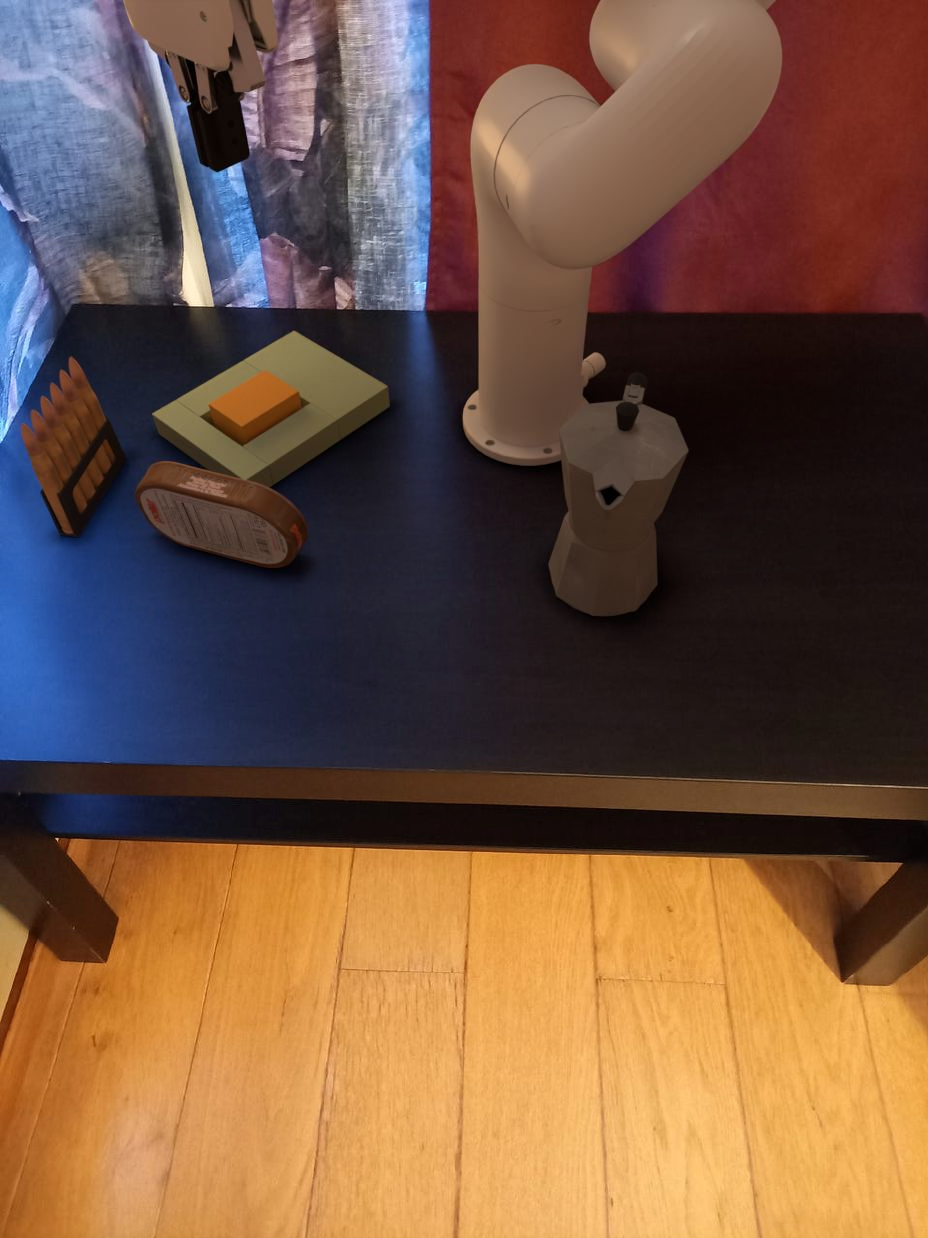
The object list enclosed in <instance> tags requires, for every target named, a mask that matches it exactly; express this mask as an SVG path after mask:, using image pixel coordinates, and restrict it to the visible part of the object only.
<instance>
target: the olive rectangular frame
mask: <svg viewBox="0 0 928 1238" xmlns="http://www.w3.org/2000/svg"><path fill="white" fill-rule="evenodd" d="M265 370H266V371H268V372H269V373H271V374H272V375H274V376H276V377H277V378H279V379H280V380H282V381H284V382H285V383H287V384H288V385H290V386H291V387H293V388H295V389H296V390H298V391H299V394H300V400H301V405H302V409H300V410H299V411H297V412H296V413H294V414H293V415H291V416H289V417H288V418H286V419H285V420H283V421H282V422H280V423H278V424H277V425H275V426H274V427H272V428H271V429H269V430H267V431H266V432H264V433H263V434H261V435H260V436H258V437H256V438H255V439H253V440H252V441H250V442H249V443H247V444H245V445H244V446H243V447H242V446H240V445H239V444H238V443H236V442H235V441H233V440H232V439H230V438H229V437H228V436H226V435H225V434H223V433H222V432H220V431H219V430H218V429H216V428H215V426H214V422H213V419H212V415H211V412H210V408H209V403H211V402H213V401H214V400H216V399H218V398H219V397H221V396H223V395H224V394H226V393H228V392H229V391H231V390H233V389H234V388H236V387H238V386H239V385H241V384H243V383H244V382H246V381H248V380H249V379H251V378H253V377H255V376H256V375H258V374H260V373H261V372H263V371H265ZM390 402H391V401H390V393H389V386H388V385H386V383H384V382H382V381H380V380H379V379H377V378H375V377H373V376H372V375H369V373H366V372H365V371H363V370H362V369H360V368H358V367H356V366H354V365H353V364H351V363H350V362H348V361H346V360H345V359H343V358H341V357H340V356H338V355H336V354H335V353H334V352H331V351H329V350H328V349H326V348H325V347H323V346H321V345H319V344H318V343H316V342H315V341H312V340H311V339H309V338H307V337H306V336H305V335H302V334H301V333H299V332H297V331H296V330H293V331H291V332H289V333H287V334H286V335H284V336H283V337H280V338H279V339H277V340H275V341H274V342H272V343H271V344H268V345H267V346H266V347H264V348H262V349H260V350H259V351H257V352H255V353H253V354H252V355H250V356H248V357H246V358H245V359H243V360H242V361H240V362H238V363H237V364H235V365H233V366H231V367H230V368H228V369H226V370H224V371H223V372H221V373H219V374H217V375H216V376H214V377H213V378H211V379H209V380H207V381H206V382H204V383H202V384H201V385H199V386H197V387H195V388H193V389H192V390H190V391H188V392H187V393H185V394H183V395H181V396H180V397H178V398H177V399H174V400H173V401H171V402H170V403H168V404H166V405H164V406H162V407H161V408H160V409H158V410H156V411H154V412H152V413H151V415H152V418H153V421H154V424H155V427H156V429H157V432H158V435H160V436H161V437H163V438H164V439H165V440H167V441H168V442H169V443H170V444H172V445H173V446H175V447H176V448H177V449H179V451H182V452H183V453H184V454H186V455H187V456H188V457H189V458H191V459H192V460H194V461H195V462H197V463H198V464H199V465H201V466H202V467H204V468H205V470H208V471H212V472H215V473H220V474H224V475H228V476H232V477H236V478H240V479H244V480H248V481H252V482H256V483H259V484H262V485H264V486H267V487H269V488H271V487H272V486H274V485H275V484H277V483H278V482H281V480H283V479H284V478H286V477H287V476H289V475H291V474H292V473H294V472H295V471H297V470H298V469H299V468H302V466H305V464H307V463H309V462H310V461H311V460H313V459H315V458H316V457H317V456H319V455H320V454H322V453H323V452H325V451H326V450H328V449H329V448H330V447H332V446H334V445H335V444H336V443H338V442H339V441H341V440H342V439H344V438H346V437H347V436H348V435H350V434H351V433H352V432H354V431H356V430H357V429H359V428H361V427H362V426H363V425H365V424H366V423H368V422H369V421H371V420H372V419H374V418H375V417H376V416H378V415H379V414H381V413H382V412H384V411H385V410H387V409H389V408H390V407H391V404H390Z"/></svg>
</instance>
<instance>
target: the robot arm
mask: <svg viewBox="0 0 928 1238" xmlns="http://www.w3.org/2000/svg"><path fill="white" fill-rule="evenodd" d="M122 1H123V5H124V8H125V11H126V14H127V15H126V16H127V18H128V20H129V23H130V25H131V27H132V29H133V30H134V32H135V33H136V34H137V35H138V36H139V37H140V38H142V39H143V40H145V41H147V44H148V46H149V48H150V49H151V50H152V51H153V52H154V53H155V54H156V55H157V56H159V58H161V59H162V60H164V61H165V63H166V65H168V67H169V69H170V70H171V73H172V76H173V80H174V83H175V86H176V90H177V92H178V93H177V94H178V95H179V97H180V99H181V100H182V102H183V103H185V104H188V105H186V111H187V114H188V119H189V124H190V127H191V133H192V137H193V141H194V144H195V149H196V153H197V157H198V162H199V164H200V165H202V166H203V167H206V168H209V169H210V170H211V171H213V172H215V173H220V172H223V171H225V170H226V169H229V168H231V167H233V166H235V165H237V164H239V163H242V162H244V161H246V160H248V159H249V158H250V155H251V149H250V144H249V140H248V135H247V129H246V124H245V118H244V114H243V108H242V103H241V101H243V100H245V95H246V93H248V94H249V93H251V92H253V91H255V90H258V89H260V88H262V87H264V86H265V85H266V77H265V74H264V70H263V66H262V63H261V60H260V58H259V57H260V56H259V54H258V52H260V53H264V54H269V53H272V52H274V51H276V50H277V48H278V45H279V34H278V27H277V20H276V13H275V8H274V3H273V0H122ZM776 1H777V0H599V2H598V4H597V6H596V8H595V11H594V12H593V15H592V18H591V22H590V26H589V37H588V39H589V49H590V52H591V56H592V60H593V62H594V64H595V66H596V68H597V69H598V71H599V73H600V75H601V77H602V78H603V79H604V80H605V82H606V83H607V84H608V85H609V87H611V89H612V90H613V91H614V93H612V94H611V96H610V97H608V98H607V99H606V100H605V102H603V104H602V105H600V103H599V102H598V101H597V100H596V99H595V98H594V96H592V94H591V93H590V92H589V91H588V90H587V89H586V88H585V87H584V86H583V85H582V84H581V83H580V82H579V81H578V80H577V79H576V78H574V77H573V76H571V75H570V74H568V73H566V72H564V71H563V70H561V69H559V68H557V67H555V66H551V65H547V64H540V63H533V64H532V63H531V64H524V65H520V66H516V67H514V68H512V69H510V70H509V71H507V72H505V73H503V74H502V75H501V76H499V77H498V78H496V80H495V81H494V82H493V83H492V84H491V85H490V86H489V88H487V90H486V92H485V93H484V94H483V96H482V98H481V100H480V102H479V104H478V107H477V109H476V111H475V114H474V118H473V121H472V126H471V131H470V133H471V134H470V142H469V143H470V147H469V149H470V150H469V151H470V167H471V168H470V169H471V177H472V186H473V196H474V203H475V212H476V213H475V214H476V222H477V223H476V224H477V243H478V244H477V245H478V278H477V279H478V281H477V282H478V284H477V285H478V291H477V292H478V389H477V390H475V391H474V392H473V393H472V394H471V396H469V398H468V399H467V401H466V403H465V405H464V407H463V412H462V426H463V428H462V429H463V431H464V434H465V436H466V438H467V440H468V441H469V443H470V445H472V446H473V447H474V448H475V449H476V450H477V451H479V452H481V453H482V454H483V455H484V456H487V457H489V458H491V459H493V460H495V461H498V462H502V463H505V464H509V465H516V466H523V467H524V466H526V467H528V466H529V467H530V466H531V467H535V466H543V465H548V464H549V465H550V464H553V463H557V462H559V461H562V460H561V449H560V439H559V429H560V428H561V427H562V426H563V425H564V424H565V423H566V422H567V421H568V420H569V419H570V418H571V417H572V416H574V415H575V414H576V413H577V412H578V411H579V410H580V409H581V408H582V407H583V406H584V405H585V404H590V403H589V401H587V398H585V396H584V395H583V393H584V388H586V387H587V386H588V383H589V380H590V379H593V378H594V377H595V376H597V375H599V374H600V373H601V372H602V371H603V370H604V369H605V368H606V364H607V363H606V360H605V358H604V356H603V355H602V354H601V353H599V352H593V353H591V354H590V355H588V356H586V358H584V349H585V340H586V330H587V329H586V328H587V319H588V318H587V317H588V310H589V300H590V291H591V290H590V289H591V284H592V274H593V267H595V266H598V265H600V264H602V263H604V262H606V261H608V260H610V259H611V258H613V257H615V256H617V255H619V253H621V252H622V251H624V250H625V249H626V248H628V247H629V246H631V245H632V244H633V243H634V242H635V241H637V240H638V239H639V238H641V236H642V235H644V234H645V233H646V232H647V231H648V230H650V228H652V227H653V226H654V225H655V224H657V222H658V221H659V220H661V219H662V218H664V216H665V215H666V214H668V212H670V211H671V210H672V209H673V208H674V207H676V205H677V204H679V203H680V202H681V201H682V200H683V199H684V198H685V197H687V195H689V194H690V193H691V192H692V191H693V190H694V189H695V188H696V187H697V186H699V185H700V184H701V183H702V182H703V181H704V180H706V179H707V178H708V177H709V176H710V175H711V174H712V173H713V172H714V171H716V170H717V169H718V168H719V167H721V165H722V164H724V162H726V161H727V160H728V159H729V158H730V157H731V156H732V155H733V154H734V153H735V152H736V151H737V150H738V149H739V148H740V147H741V146H742V145H743V144H744V143H745V142H746V141H747V139H748V138H749V137H750V136H751V135H752V133H753V132H754V131H755V129H756V128H757V127H758V126H759V124H760V122H761V120H762V119H763V117H764V116H765V114H766V113H767V111H768V109H769V107H770V105H771V103H772V101H773V98H774V96H775V94H776V92H777V89H778V85H779V82H780V79H781V74H782V65H783V47H782V41H781V36H780V34H779V31H778V28H777V26H776V24H775V22H774V20H773V19H772V17H771V16H770V14H769V13H768V10H769V8H770V7H772V5H773V4H774V3H775V2H776Z"/></svg>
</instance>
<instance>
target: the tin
mask: <svg viewBox="0 0 928 1238" xmlns="http://www.w3.org/2000/svg"><path fill="white" fill-rule="evenodd" d="M134 498H135V502H136V504H137V506H138V508H139V510H140V512H141V513H142V515H143V517H144V518H145V520H146V521H147V523H148V524H149V525H150V526H151V527H152V528H154V530H156V532H158V533H160V534H161V535H162V536H164V537H165V538H168V539H169V540H171V541H172V542H175V543H177V544H179V545H182V546H184V547H187V548H190V549H194V550H197V551H200V552H201V551H202V552H206V553H209V554H213V555H216V556H220V557H223V558H227V559H230V560H231V559H232V560H235V561H239V562H243V563H246V564H250V565H254V566H258V567H261V568H268V569H280V568H284V567H286V566H288V565H290V564H291V563H292V562H294V560H295V559H296V557H297V556H298V554H299V552H300V551H301V549H302V547H303V546H304V545H305V544H306V542H307V541H308V538H309V527H308V523H307V521H306V519H305V517H304V516H303V514H302V512H301V511H300V510H299V509H298V508H297V506H296V505H295V504H294V503H292V501H290V500H289V499H288V498H286V497H285V496H284V495H283V494H281V493H279V492H278V491H276V490H275V489H273V488H271V487H267V486H264V485H262V484H259V483H256V482H252V481H248V480H244V479H240V478H236V477H232V476H228V475H224V474H220V473H215V472H212V471H209V470H208V469H203V468H200V467H197V466H191V465H188V464H184V463H180V462H176V461H168V460H166V461H165V460H164V461H157V462H154V463H153V464H150V466H149V467H148V468H147V469H146V471H145V474H144V476H143V477H142V478H141V480H140V482H139V483H138V484H137V486H136V489H135V491H134Z"/></svg>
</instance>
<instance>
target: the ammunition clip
mask: <svg viewBox="0 0 928 1238" xmlns="http://www.w3.org/2000/svg"><path fill="white" fill-rule="evenodd" d="M68 370H69V374H70V375H69V374H68V373H67V372H66V371H65V370H64V369H60V370H59V384H60V388H61V389H60V388H59V386H58V385H56V384H55V383H54V382H51V383H50V385H49V391H50V398H51V401H50V400H49V399H48V398H47V397H46V396H44V395H41V397H40V408H41V412H42V415H41V414H40V413H39V412H38V411H37V410H36V409H34V408H33V409H31V410H30V419H31V424H32V428H33V430H32V429H31V428H30V427H29V426H28V425H27V424H26V423H21V426H20V433H21V438H22V441H23V444H24V447H25V450H26V452H27V454H28V457H29V459H30V462H31V467H32V470H33V473H34V474H35V476H36V478H37V480H38V482H39V484H40V487H41V490H40V491H39V493H40V495H41V497H42V500H43V502H44V504H45V507H46V508H47V510H48V512H49V515H50V517H51V519H52V521H53V524H54V526H55V528H56V530H57V533H58V534H59V535H60V536H67V537H73V538H78V537H79V538H80V537H81V535H82V534H83V532H84V531H85V529H86V527H87V525H88V524H89V522H90V520H91V519H92V517H93V515H94V513H95V512H96V510H97V508H98V507H99V505H100V503H101V502H102V500H103V498H105V497H104V496H105V495H106V493H107V491H108V490H109V488H110V487H111V485H112V483H113V481H114V480H115V478H116V477H117V474H118V473H119V472H120V470H121V468H122V466H123V465H124V463H125V461H126V460H127V457H126V454H125V452H124V450H123V447H122V445H121V443H120V440H119V438H118V436H117V433H116V432H115V429H114V426H113V424H112V422H111V419H110V418H109V417H107V416H106V417H105V414H104V411H103V409H102V407H101V404H100V402H99V399H98V397H97V394H96V393H95V391H94V390H93V389H92V387H91V384H90V383H89V380H88V378H87V376H86V374H85V372H84V370H83V369H82V367H81V366H80V364H79V363H78V361H77V360H76V359H75V358H74V357H73V356H69V357H68Z"/></svg>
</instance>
